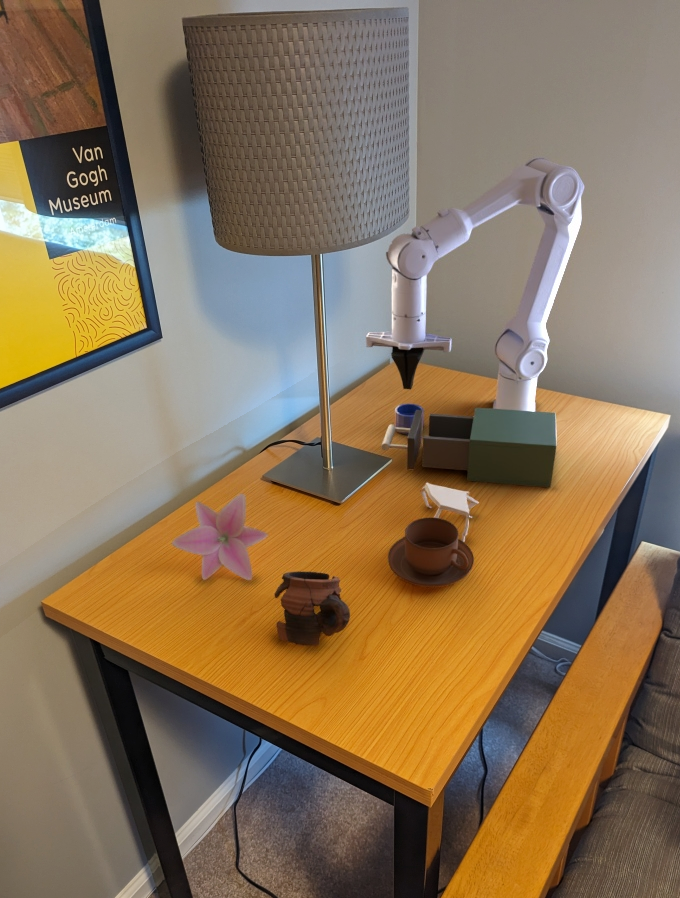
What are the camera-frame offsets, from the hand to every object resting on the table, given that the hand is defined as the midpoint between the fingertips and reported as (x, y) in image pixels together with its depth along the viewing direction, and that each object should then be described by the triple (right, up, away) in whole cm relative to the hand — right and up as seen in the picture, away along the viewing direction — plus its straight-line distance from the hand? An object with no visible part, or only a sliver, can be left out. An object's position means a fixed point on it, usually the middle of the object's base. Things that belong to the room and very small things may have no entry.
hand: (408, 386), depth 132 cm
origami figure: (+5, -24, -17) cm, 30 cm away
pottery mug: (-14, -38, -36) cm, 54 cm away
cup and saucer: (+2, -31, -27) cm, 41 cm away
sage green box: (+17, -15, -5) cm, 23 cm away
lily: (-28, -31, -25) cm, 48 cm away
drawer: (+4, -13, -3) cm, 14 cm away
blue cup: (+1, -7, +7) cm, 10 cm away
